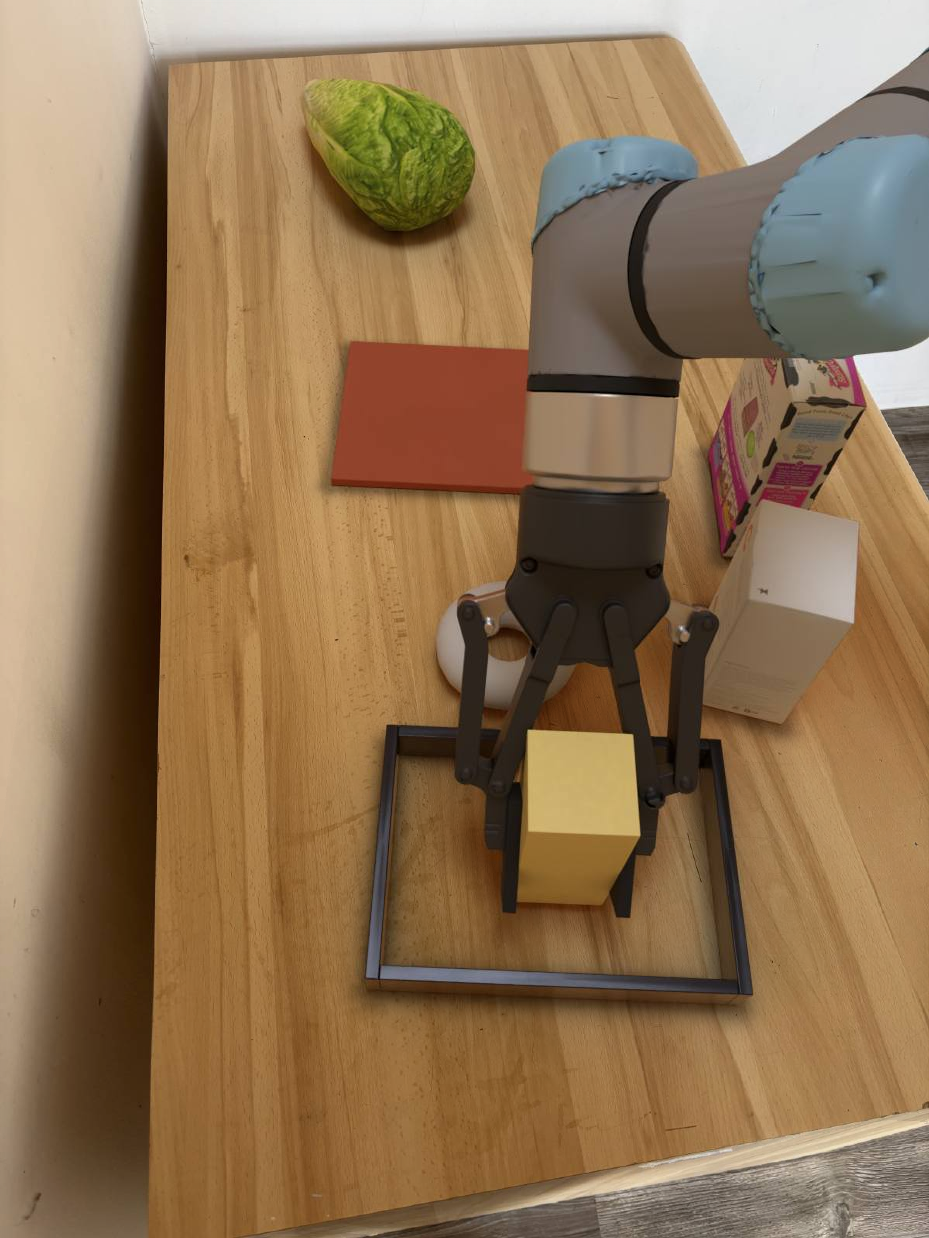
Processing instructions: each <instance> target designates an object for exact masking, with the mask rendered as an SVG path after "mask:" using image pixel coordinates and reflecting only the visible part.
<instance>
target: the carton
mask: <svg viewBox="0 0 929 1238" xmlns="http://www.w3.org/2000/svg"><path fill="white" fill-rule="evenodd" d="M516 782H520V786H521V793H522V800H523V807H522V823H521V839H520V855H519V877H518V893H517V903H537V904H538V903H540V904H560V905H561V904H563V905H587V906H589V905H590V906H603V904H604V902H605V901H606V899H607V897H608V896H609V895H610V894H609V892H610V890H611V888H612V886H613V885H614V883H615V881H616V879H617V877H618V876H619V874H620V872H621V870H622V868H623V867H624V865H625V863H626V861H627V859H628V858H629V856H630V854H631V852H632V850H633V848H634V847H635V845H636V843H637V841H638V839H639V838H640V822H639V808H638V794H637V780H636V766H635V753H634V739H633V734H623V733H614V732H613V733H612V732H594V731H593V732H591V731H569V730H568V731H565V730H547V729H546V730H545V729H533V730H528V731H527V739H526V749H525V752H524V754H523V757H522V760H521V762H520V765H519V769H518V776H517V781H516Z"/></svg>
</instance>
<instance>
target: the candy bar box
mask: <svg viewBox="0 0 929 1238" xmlns="http://www.w3.org/2000/svg"><path fill="white" fill-rule="evenodd" d="M867 408H868V405H867V401H866V397H865V393H864V390H863V387H862V383H861V380H860V377H859V373H858V371H857V366H856V363H855V359H854V356H853V357H849V358H846V359H834V358H832V359H831V360H829V361H818V360H806V359H804V358H743V360H742V363H741V366H740V368H739V371H738V374H737V376H736V379H735V382H734V385H733V388H732V390H731V392H730V395H729V397H728V400H727V403H726V405H725V408H724V410H723V413H722V416H721V418H720V421H719V423H718V426H717V429H716V432H715V433H714V435H713V436H714V437H713V440H712V442H711V444H710V447H709V449H708V452H707V456H708V457H707V458H708V463H709V470H710V476H711V484H712V490H713V491H712V492H713V498H714V505H715V515H716V522H717V529H718V536H719V544H720V551H721V552H720V553H721V557H723V558H729V559H730V558H731V559H733V557H734V555H735V553H736V551H737V549H738V547H739V544H740V542H741V540H742V538H743V536H744V534H745V532H746V530H747V528H748V526H749V523H750V521H751V519H752V517H753V515H754V513H755V511H756V509H757V507H758V505H759V503H760V501H761V500H762V499H765V500H768V501H772V502H776V503H781V504H785V505H789V506H793V507H797V508H802V509H806V510H810V508H811V507H812V505H813V504H814V502H815V500H816V497H817V496H818V494H819V492H820V490H821V488H822V487H823V485H824V483H825V482H826V480H827V478H828V476H829V475H830V473H831V471H832V469H833V468H834V466H835V464H836V463H837V461H838V459H839V457H840V456H841V453H842V452H843V450H844V448H845V446H846V445H847V443H848V441H849V440H850V437H851V435H852V434H853V432H854V431H855V428H856V427H857V425H858V423H859V421H860V419H861V418H862V416H863V414H864V413H865V411H866V410H867Z"/></svg>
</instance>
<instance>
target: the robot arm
mask: <svg viewBox="0 0 929 1238" xmlns="http://www.w3.org/2000/svg"><path fill="white" fill-rule="evenodd" d="M539 184H540V185H539V192H538V200H537V209H536V218H535V224H534V225H535V226H534V233H533V236H532V237H531V241H530V251H531V252H530V253H531V258H532V267H531V286H530V287H531V289H530V311H529V331H528V349H527V350H528V369H527V376H529V377H528V378H527V391H530V392H528V393H526V402H525V418H524V435H523V451H522V467H521V468H522V469H523V470H524V471H525V472H526V473H527V474H531V475H533V484H529V485H525V486H524V490H522V491H520V494H519V501H518V502H519V506H518V521H517V537H516V538H517V539H516V555H515V564H514V568H513V570H512V573H511V574H510V576H509V577H508V579H507V580H506V581H507V583H506V585H505V589H503V590H499V591H495V592H491V593H487V594H484V595H480V596H475V595H473V594H470V593H469V594H464V595H462V594H461V595H462V596H461V595H460V596H461V597H460V596H459V597H460V598H459V597H458V598H459V599H458V602H457V619H458V622H459V626H460V629H461V633H462V637H463V640H464V644H465V649H464V661H463V672H462V683H461V693H460V696H459V706H458V707H459V709H458V718H457V727H458V729H457V740H456V751H455V757H454V773H453V774H454V779H455V780H456V782H457V783H458V784H460V785H463V786H470V785H471V786H474V787H476V788H478V789H480V790H481V791H482V792H483V793H484V794H485V803H484V804H485V805H484V821H483V822H484V823H483V838H484V839H483V840H484V841H483V842H484V843H485V846H486V849H487V850H489V851H502V857H501V872H500V873H501V874H500V900H501V901H500V902H501V912H502V914H517V907H518V905H517V904H518V902H517V893H518V877H519V855H520V839H521V823H522V807H523V800H522V793H521V786H520V782H517V781H515V779H516V776H517V773H518V772H519V769H520V765H521V760H522V757H523V754H524V752H525V749H526V739H527V731H528V730H534V727H535V725H536V722H537V719H538V718H539V717H538V716H539V713H540V711H541V709H542V705H543V703H544V702H543V700H544V698H545V695H546V692H547V690H548V687H549V685H550V684H551V682H552V681H553V678H554V676H555V673H556V670H557V668H558V665H563V666H570V665H575V664H576V665H579V664H583V663H585V664H587V665H591V666H595V667H597V668H607V669H608V673H609V676H610V681H611V687H612V690H613V695H614V699H615V704H616V705H615V706H616V709H617V714H618V718H619V724H620V727H621V728H620V729H621V732H622V733H621V734H633V739H634V753H635V766H636V780H637V794H638V808H639V822H640V838H639V839H638V841H637V843H636V845H635V847H634V848H633V850H632V852H631V854H630V856H629V858H628V859H627V861H626V863H625V865H624V867H623V868H622V870H621V872H620V874H619V876H618V877H617V879H616V881H615V883H614V885H613V886H612V888H611V890H610V892H609V894H608V895H609V898H610V901H611V904H612V907H613V911H614V914H615V917H616V919H631V915H632V903H633V892H634V880H635V871H636V861H637V860H636V859H637V856H641V857H651V856H652V855H653V853H654V851H655V849H656V845H657V844H656V843H657V833H658V823H659V813H660V809H662V808H663V807H664V806H665V804H666V802H667V801H666V799H667V797H669V796H672V795H675V794H679V793H680V794H681V795H690V794H693V792H695V791H696V790H697V788H698V784H699V754H700V738H702V737H701V736H702V722H703V721H702V720H703V706H704V705H703V690H704V674H705V658H706V656H707V653H708V651H709V649H710V647H711V644H712V642H713V640H714V638H715V635H716V633H717V631H718V628H719V624H720V623H719V619H718V618H717V616H716V615H715V614H713V613H712V612H711V611H710V610H708V609H709V608H707V607H706V606H705V605H703V604H701V603H696V602H695V603H692V604H689V603H687V602H684V601H681V600H679V599H676V598H672V597H671V593H670V590H669V588H668V587H667V584H666V581H665V577H664V576H665V575H664V567H665V566H664V565H665V556H666V545H667V533H668V525H669V523H668V522H669V513H670V502H671V500H670V498H668V497H667V493H666V492H663V491H662V490H661V491H660V483H661V482H666V481H669V479H670V478H671V477H673V468H674V456H675V446H676V445H675V443H676V431H677V419H678V409H679V399H678V398H679V397H680V390H681V389H680V388H681V384H680V383H681V381H682V375H683V364H684V360H702V359H744V358H804V359H806V360H818V361H829V360H831V359H832V358H834V359H846V358H849V357H853V358H854V357H856V356H862V355H870V354H871V355H872V354H881V353H892V352H900V351H904V350H908V349H911V348H913V347H915V346H917V345H919V344H921V343H923V342H924V341H926V340H928V339H929V46H928V47H926V48H925V49H924V50H923V51H922V52H921V53H920V55H918V56H917V57H916V58H915V59H913V60H912V61H910V63H908V65H907V66H905V67H903V68H902V69H901V70H899V71H898V72H897V73H895V74H893V75H892V76H891V77H889V78H888V79H886V80H885V81H884V82H882V83H881V84H879V85H878V86H876V87H875V88H874V89H872V90H871V91H869V92H868V93H866V94H865V95H863V96H862V97H860V98H859V99H857V100H856V101H855V102H852V103H851V104H850V105H848V106H846V107H845V108H843V109H841V110H840V111H839V112H837V113H836V114H835V115H833V116H831V117H830V118H828V119H827V120H825V121H824V122H823V123H821V124H820V125H818V126H817V127H815V128H814V129H812V130H811V131H809V132H807V133H806V134H805V135H803V136H802V137H800V138H798V139H797V140H796V141H795V142H793V143H791V144H790V145H789V146H787V147H786V148H784V149H782V150H781V151H780V152H779V153H777V154H775V155H773V156H771V157H769V158H766V159H764V160H762V161H758V162H756V163H754V164H750V165H745V166H742V167H738V168H734V169H729V170H726V171H721V172H718V173H714V174H710V175H705V176H701V177H700V167H699V162H698V160H697V159H696V156H695V154H694V153H693V152H691V150H690V149H688V147H685V146H684V145H683V144H679V143H677V142H674V141H671V140H667V139H663V138H658V137H653V136H642V135H616V136H612V137H611V138H602V139H601V138H587V139H586V138H585V139H583V140H578V141H574V142H572V143H569V144H567V145H565V146H563V147H561V148H559V149H558V150H556V152H554V153H553V154H552V155H551V156H550V157H549V159H548V160H547V162H546V163H545V164H544V167H543V169H542V172H541V177H540V183H539ZM509 610H510V611H511V612H512V614H513V615H514V617H515V618H516V620H517V621H518V623H519V624H520V626H521V627H522V629H523V630H524V632H525V633H526V635H527V636H528V638H529V639H530V641H531V644H530V645H529V647H528V650H527V652H526V655H527V656H526V655H525V656H526V659H525V665H524V668H523V671H522V673H521V676H520V679H519V682H518V684H517V687H516V690H515V693H514V695H513V698H512V701H511V704H510V707H509V709H508V710H507V713H506V716H505V717H504V721H503V723H502V726H501V728H500V729H501V731H500V734H499V737H498V740H497V742H496V745H495V748H494V751H493V753H492V756H491V759H487V758H484V757H482V756H479V751H480V740H481V730H482V728H483V717H484V707H485V706H484V698H485V687H486V676H487V666H488V653H489V639H488V638H489V637H492V636H495V635H497V633H498V632H499V631H500V629H501V628H500V619H501V616H502V615H503V614H504V613H505V612H506V611H509ZM663 618H664V619H666V621H667V627H666V633H667V636H668V637H669V639H671V640H672V641H673V643H672V647H671V654H670V655H671V657H670V672H669V674H670V675H669V693H668V709H667V710H668V712H667V727H666V728H667V731H666V737H667V746H666V763H665V764H662V765H658V766H657V762H656V757H655V752H654V748H653V743H652V738H651V736H652V734H651V728H650V724H649V720H648V719H649V718H648V714H647V710H646V704H645V699H644V694H643V690H642V685H641V674H640V670H639V665H638V664H639V663H638V659H637V656H636V655H637V654H636V650H637V649H638V648H639V646H640V645H641V644H642V643H643V642H644V641H645V639H646V638H647V637H648V636H649V635H650V633H651V632H652V631H653V630H654V629H655V627H656V626H657V625H658V624H659V623H660V622H661V621H662V620H663ZM526 635H525V636H526ZM527 636H526V637H527ZM528 638H527V639H528ZM529 639H528V640H529ZM530 641H529V642H530Z"/></svg>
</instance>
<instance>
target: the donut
mask: <svg viewBox="0 0 929 1238" xmlns="http://www.w3.org/2000/svg"><path fill="white" fill-rule="evenodd" d="M507 581H508V580H499V581H490V582H484V583H482V584H480V585H477V586H475V587H472V588H470V589H467V590H466V591H465V592H463V593H462V594H461V595H460V596H458V597H457V598H456V599H455V600H454V601H452V602H451V603H450V604H449V605H448V607H447V608H446V610H445V612H444V613H443V615H442V617H441V618H440V620H439V623H438V627H437V632H436V637H435V642H434V644H435V649H436V654H437V655H436V656H437V661H438V665H439V668H440V669H441V671H442V672H443V675H444V676H445V678H446V680H447V681H448V683H449V684H450V685H451V687H453V688H454V689H455V690H457V692H459V694H461V683H462V672H463V661H464V649H465V644H464V640H463V637H462V633H461V629H460V626H459V622H458V619H457V602H458V599H459V598H460V597H461V596H462V595H464V594H469V593H470V594H473V595H475V596H480V595H484V594H487V593H491V592H495V591H499V590H503V589H505V585H506V583H507ZM501 628H509V629H514V630H517V631H518V632H521V633H523V635H524V636H526V638H527V639H528V641H529V643H530V645H531V641H530V639H529V638H528V636H527V635H526V633H525V632H524V630H523V629H522V627H521V626H520V624H519V623H518V621H517V620H516V618H515V617H514V615H513V614H512V612H511V611H510V610H509V611H506V612H505V613H504V614H503V615H502V616H501V619H500V628H499V629H501ZM526 656H527V654H526V655H524V657H522V658H519V659H517V660H511V661H510V660H509V661H508V660H501V659H498V658H497V657H494V656H492V655H491V654H490V653H489V652H488V666H487V676H486V687H485V698H484V707H485V708H488V709H495V710H496V709H497V710H502V711H508V709H509V707H510V704H511V701H512V698H513V695H514V693H515V690H516V687H517V684H518V682H519V679H520V676H521V673H522V671H523V668H524V665H525V659H526ZM576 666H577V664H575V665H570V666H563V665H558V668H557V670H556V673H555V676H554V678H553V681H552V682H551V684H550V685H549V687H548V690H547V692H546V695H545V698H544V700H543V703H545V702H547V701H549V700H551V699H552V698H553V697H554V696H555V695H556V694H557V693H558V692H559V691H561V690H562V689H563V688H564V687H565V686H566V685H567V684H568V682H569V681H570V678H571V676H572V673H573V672H574V670H575V668H576Z"/></svg>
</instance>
